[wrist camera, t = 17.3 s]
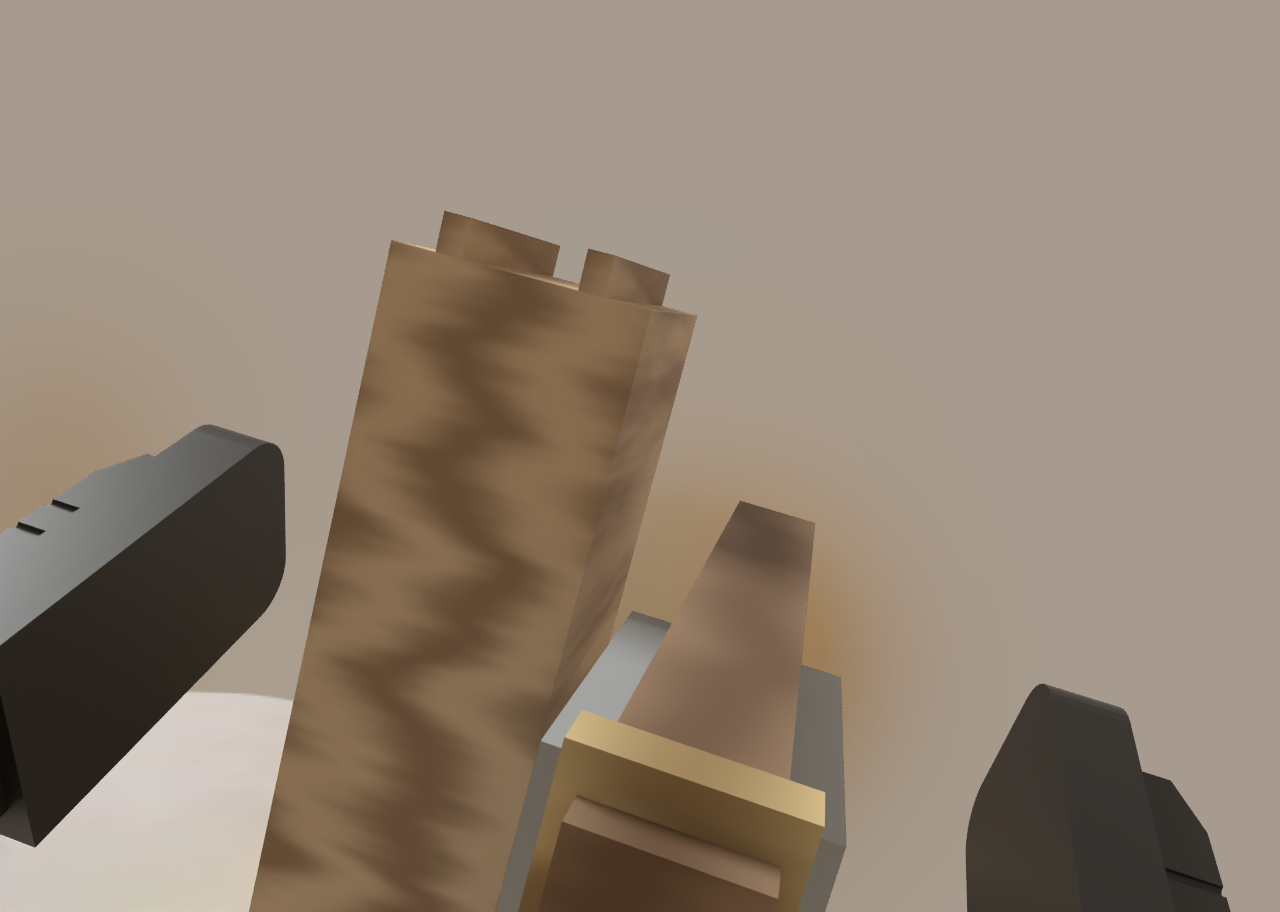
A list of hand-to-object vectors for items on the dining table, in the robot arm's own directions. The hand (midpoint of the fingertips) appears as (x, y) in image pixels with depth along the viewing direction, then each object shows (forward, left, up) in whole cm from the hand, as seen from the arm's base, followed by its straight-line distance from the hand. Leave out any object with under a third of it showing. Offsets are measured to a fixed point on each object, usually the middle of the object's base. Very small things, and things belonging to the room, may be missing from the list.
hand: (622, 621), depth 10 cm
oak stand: (-10, +30, -29) cm, 43 cm away
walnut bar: (+1, +19, -8) cm, 21 cm away
